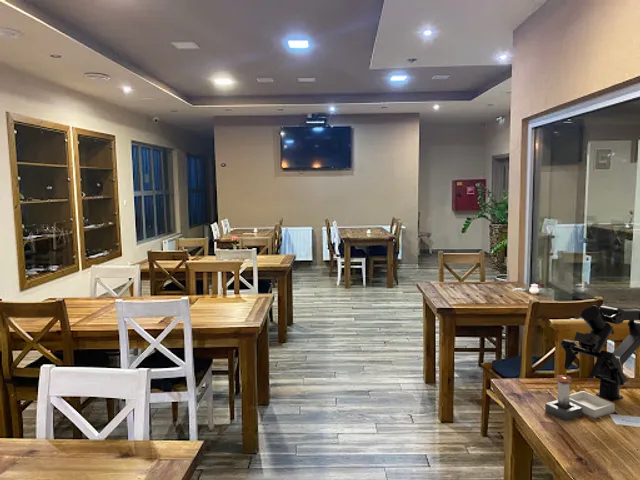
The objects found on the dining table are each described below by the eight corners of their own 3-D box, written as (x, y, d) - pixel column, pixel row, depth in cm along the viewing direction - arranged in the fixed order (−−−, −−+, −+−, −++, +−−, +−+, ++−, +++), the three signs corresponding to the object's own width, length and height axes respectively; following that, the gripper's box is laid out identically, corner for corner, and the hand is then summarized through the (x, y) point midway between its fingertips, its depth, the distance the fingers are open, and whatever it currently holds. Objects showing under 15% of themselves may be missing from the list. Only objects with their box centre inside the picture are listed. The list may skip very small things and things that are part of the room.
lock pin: (562, 409, 166) (563, 374, 165) (574, 415, 162) (574, 378, 161) (553, 412, 164) (553, 376, 163) (564, 418, 160) (565, 381, 159)
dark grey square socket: (561, 406, 168) (562, 398, 168) (582, 416, 161) (582, 407, 161) (545, 411, 165) (545, 403, 165) (565, 421, 158) (565, 412, 158)
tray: (583, 398, 174) (583, 390, 174) (614, 412, 163) (614, 403, 163) (563, 404, 170) (563, 396, 170) (594, 418, 159) (594, 410, 159)
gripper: (563, 317, 174) (543, 352, 170) (614, 330, 157) (593, 369, 153) (577, 334, 178) (557, 369, 174) (628, 348, 162) (607, 386, 158)
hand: (577, 372), depth 165 cm, fingers open, 9 cm apart
